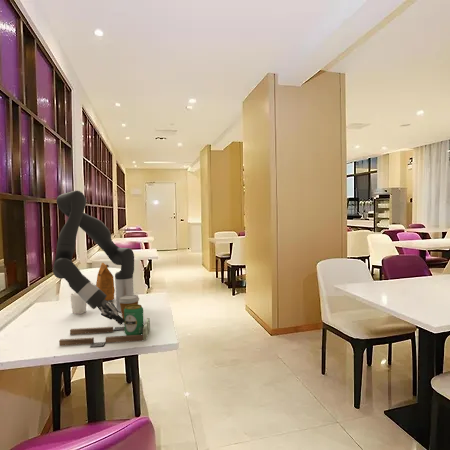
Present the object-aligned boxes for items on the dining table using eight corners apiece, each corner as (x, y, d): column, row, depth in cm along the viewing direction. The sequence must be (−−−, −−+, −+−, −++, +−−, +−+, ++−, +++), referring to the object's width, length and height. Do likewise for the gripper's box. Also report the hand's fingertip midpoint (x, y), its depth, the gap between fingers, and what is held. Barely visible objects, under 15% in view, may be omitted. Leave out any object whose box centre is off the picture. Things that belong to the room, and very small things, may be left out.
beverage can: (121, 337, 151) (120, 308, 150) (129, 330, 159) (128, 303, 158) (139, 337, 150) (138, 309, 149) (146, 331, 157) (145, 304, 157)
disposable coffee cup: (143, 319, 175) (142, 294, 174) (133, 325, 166) (132, 299, 165) (126, 318, 178) (125, 294, 177) (115, 324, 168) (114, 298, 168)
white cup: (87, 313, 188) (86, 294, 187) (71, 315, 185) (70, 296, 184) (87, 309, 195) (86, 291, 195) (71, 311, 192) (70, 292, 192)
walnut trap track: (74, 330, 161) (73, 319, 161) (151, 326, 164) (150, 315, 164) (55, 349, 139) (55, 336, 139) (144, 344, 142) (143, 331, 142)
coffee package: (111, 296, 222) (110, 261, 221) (116, 300, 212) (114, 263, 210) (95, 298, 218) (93, 263, 217) (98, 303, 207) (96, 265, 206)
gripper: (93, 292, 143) (125, 321, 145) (102, 285, 157) (132, 312, 158) (80, 305, 143) (112, 334, 145) (90, 297, 157) (120, 324, 158)
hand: (122, 322), depth 151 cm, fingers closed
